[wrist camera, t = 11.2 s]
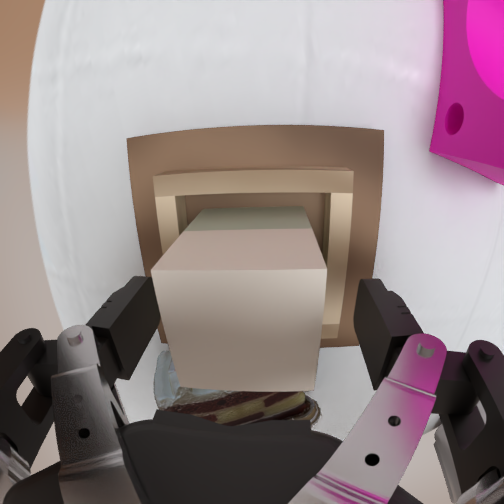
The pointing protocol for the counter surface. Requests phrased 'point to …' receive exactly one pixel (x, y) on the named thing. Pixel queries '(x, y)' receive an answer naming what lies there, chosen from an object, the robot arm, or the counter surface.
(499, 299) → the counter surface
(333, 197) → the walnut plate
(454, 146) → the toy block
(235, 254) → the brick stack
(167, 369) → the chocolate cake
